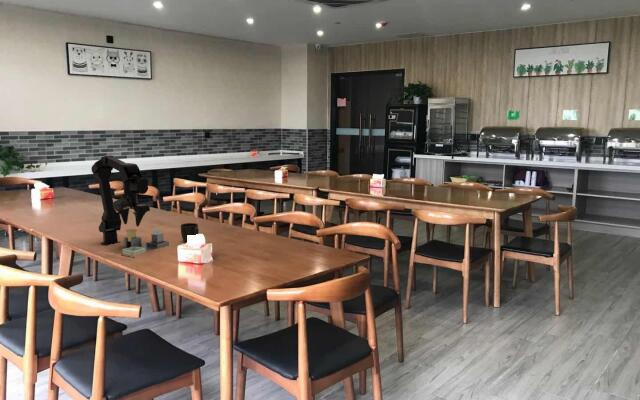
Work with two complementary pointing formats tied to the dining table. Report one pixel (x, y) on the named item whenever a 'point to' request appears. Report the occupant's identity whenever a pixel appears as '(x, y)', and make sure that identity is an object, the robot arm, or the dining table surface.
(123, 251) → the grey square frame
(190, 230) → the mug
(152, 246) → the socket block
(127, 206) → the robot arm
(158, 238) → the grey block
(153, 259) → the dining table surface
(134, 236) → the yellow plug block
